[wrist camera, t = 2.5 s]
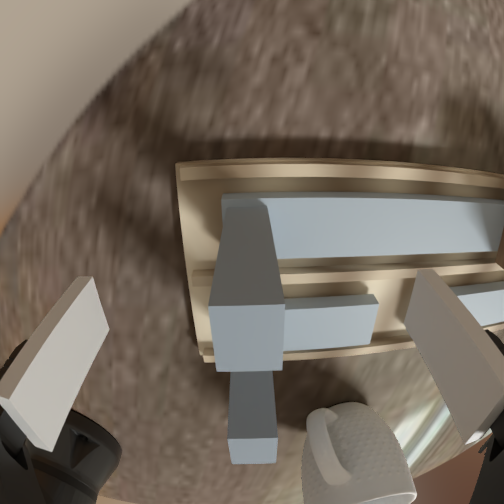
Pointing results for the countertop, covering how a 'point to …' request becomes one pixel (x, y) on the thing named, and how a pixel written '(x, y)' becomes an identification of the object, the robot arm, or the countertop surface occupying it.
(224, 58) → the countertop surface
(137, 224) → the countertop surface
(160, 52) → the countertop surface
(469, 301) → the broken strip
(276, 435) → the broken strip
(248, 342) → the strip
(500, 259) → the walnut block
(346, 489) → the mug
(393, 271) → the lane board
